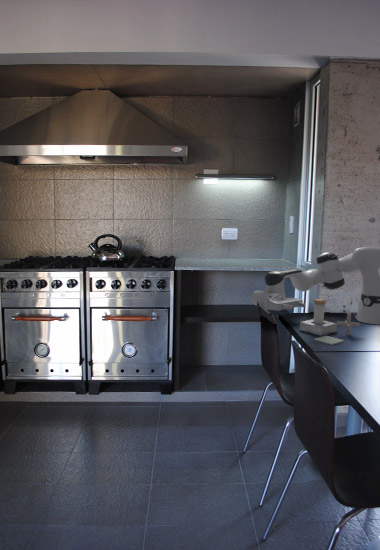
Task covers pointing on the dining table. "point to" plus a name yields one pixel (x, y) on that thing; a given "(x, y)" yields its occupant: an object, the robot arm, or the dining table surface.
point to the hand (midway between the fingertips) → (298, 306)
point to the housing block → (318, 327)
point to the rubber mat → (329, 340)
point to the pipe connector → (348, 324)
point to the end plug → (319, 311)
